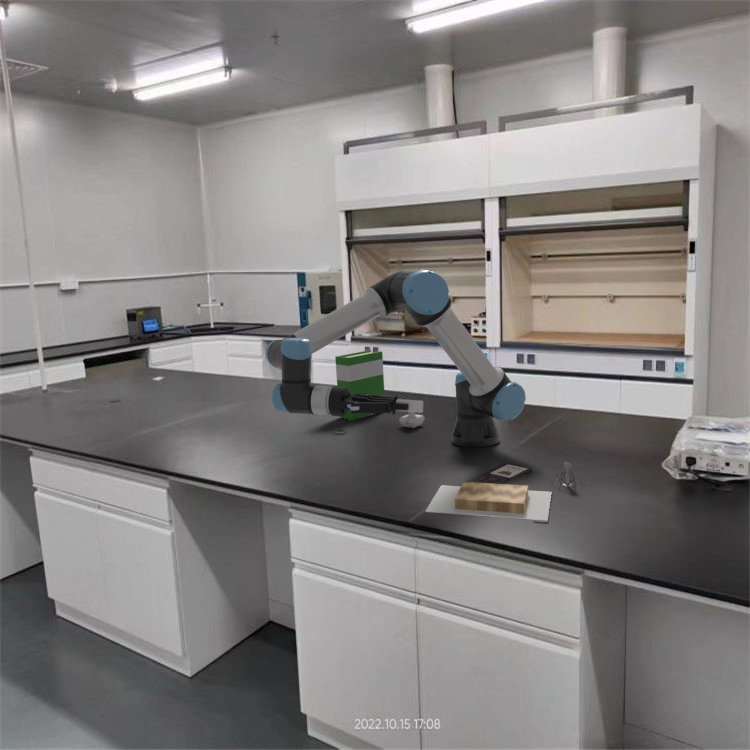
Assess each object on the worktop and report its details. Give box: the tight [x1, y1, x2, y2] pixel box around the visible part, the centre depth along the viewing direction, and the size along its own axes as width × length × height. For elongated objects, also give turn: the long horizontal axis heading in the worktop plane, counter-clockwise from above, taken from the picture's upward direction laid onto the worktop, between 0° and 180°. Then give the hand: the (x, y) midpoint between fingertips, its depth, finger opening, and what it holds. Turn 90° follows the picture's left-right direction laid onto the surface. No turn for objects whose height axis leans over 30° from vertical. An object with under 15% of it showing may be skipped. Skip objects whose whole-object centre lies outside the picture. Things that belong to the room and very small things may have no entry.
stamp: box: [398, 412, 426, 429], centre depth 230 cm, size 9×7×8 cm
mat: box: [424, 484, 553, 523], centre depth 157 cm, size 18×28×1 cm, turn 72°
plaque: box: [455, 481, 529, 514], centre depth 156 cm, size 12×2×16 cm
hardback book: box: [335, 349, 386, 421], centre depth 250 cm, size 18×7×24 cm, turn 134°
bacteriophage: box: [551, 461, 584, 491], centre depth 165 cm, size 7×8×7 cm
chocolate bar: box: [465, 463, 533, 484], centre depth 175 cm, size 9×1×18 cm
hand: (422, 406), depth 159 cm, fingers closed
